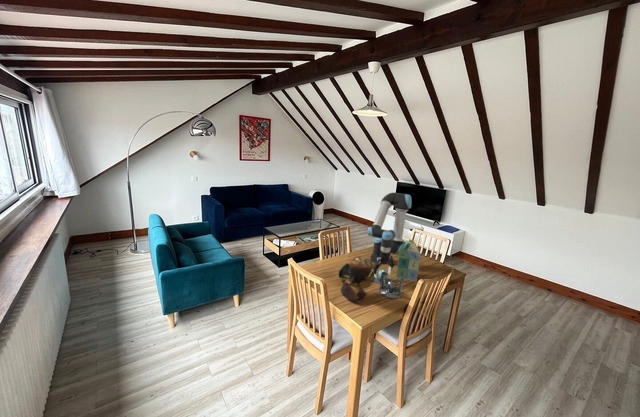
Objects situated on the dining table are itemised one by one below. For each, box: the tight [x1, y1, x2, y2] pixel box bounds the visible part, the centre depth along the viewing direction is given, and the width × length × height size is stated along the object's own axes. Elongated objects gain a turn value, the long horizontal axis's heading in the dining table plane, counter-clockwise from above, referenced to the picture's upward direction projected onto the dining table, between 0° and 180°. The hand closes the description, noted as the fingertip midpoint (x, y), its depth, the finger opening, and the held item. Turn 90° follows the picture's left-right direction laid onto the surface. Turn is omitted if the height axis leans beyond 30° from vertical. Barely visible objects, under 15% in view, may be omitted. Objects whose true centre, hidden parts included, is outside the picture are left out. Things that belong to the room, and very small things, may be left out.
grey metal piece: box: [379, 272, 404, 300], centre depth 202 cm, size 16×16×14 cm
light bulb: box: [377, 269, 388, 283], centre depth 220 cm, size 11×7×7 cm, turn 0°
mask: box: [337, 262, 374, 281], centre depth 224 cm, size 25×6×30 cm
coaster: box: [370, 274, 394, 286], centre depth 221 cm, size 13×13×1 cm
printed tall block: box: [396, 238, 422, 282], centre depth 228 cm, size 17×16×30 cm
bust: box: [340, 255, 374, 304], centre depth 195 cm, size 21×23×30 cm
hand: (382, 275), depth 220 cm, fingers open, 13 cm apart
